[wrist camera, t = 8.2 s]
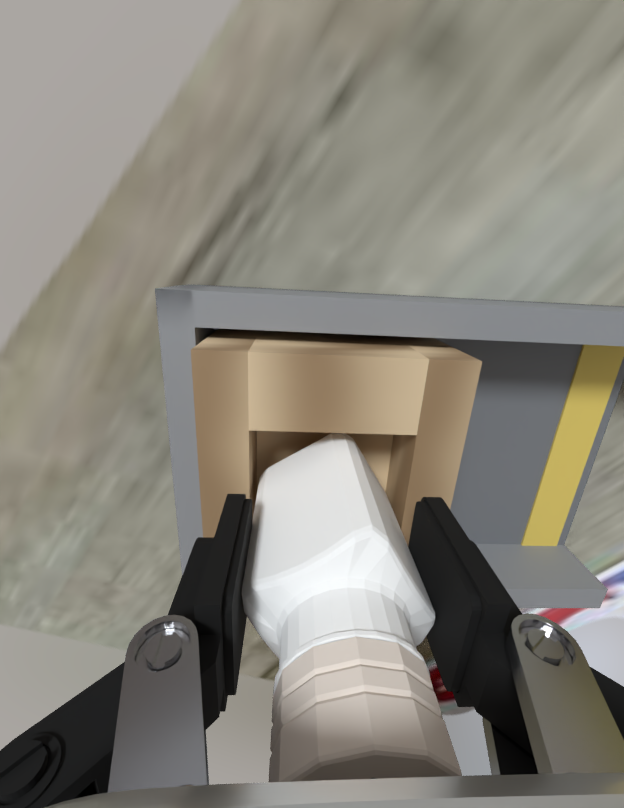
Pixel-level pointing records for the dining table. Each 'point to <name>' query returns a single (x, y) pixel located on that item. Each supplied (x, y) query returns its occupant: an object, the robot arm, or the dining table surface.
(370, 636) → the salt shaker
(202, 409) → the shaker cabinet door
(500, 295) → the dining table surface
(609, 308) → the tray
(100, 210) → the dining table surface
